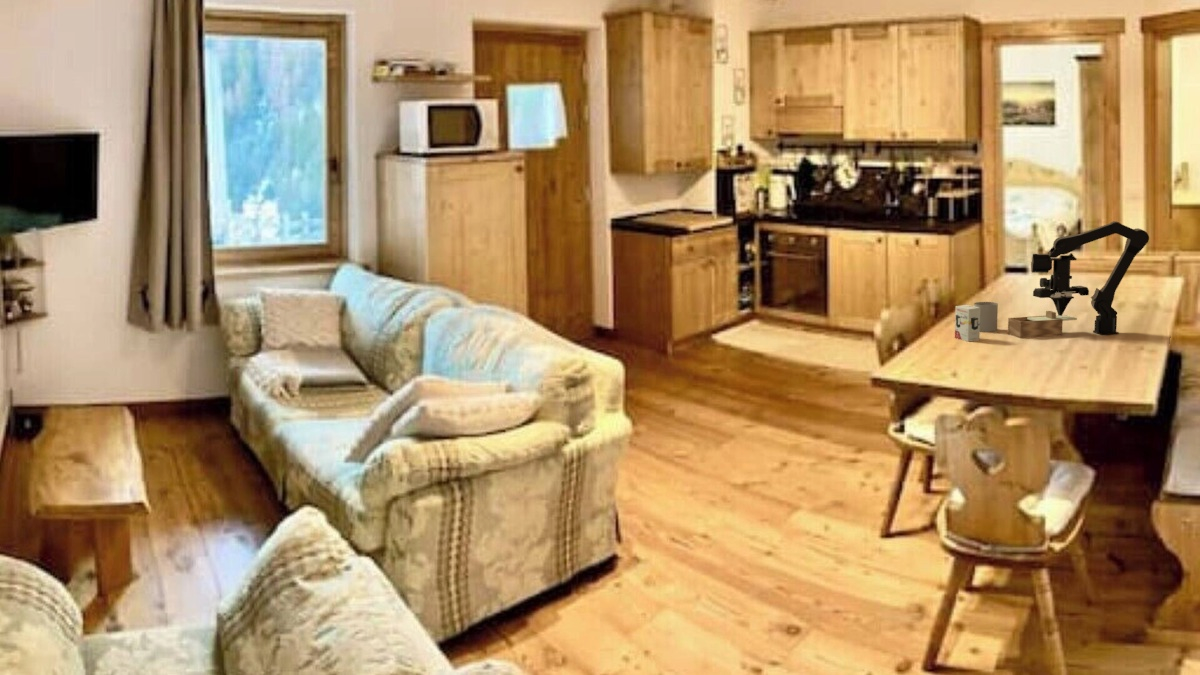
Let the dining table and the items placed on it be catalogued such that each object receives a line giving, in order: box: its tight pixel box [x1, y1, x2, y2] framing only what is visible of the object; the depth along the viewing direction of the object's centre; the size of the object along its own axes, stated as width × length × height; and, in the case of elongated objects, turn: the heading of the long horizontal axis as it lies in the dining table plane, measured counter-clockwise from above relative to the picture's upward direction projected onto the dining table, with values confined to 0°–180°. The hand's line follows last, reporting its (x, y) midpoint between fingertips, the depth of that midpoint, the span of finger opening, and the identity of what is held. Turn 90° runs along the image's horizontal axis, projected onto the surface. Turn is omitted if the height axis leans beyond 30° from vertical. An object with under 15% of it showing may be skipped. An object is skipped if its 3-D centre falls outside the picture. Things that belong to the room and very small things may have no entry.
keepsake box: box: [1007, 315, 1064, 339], centre depth 434 cm, size 16×9×6 cm, turn 99°
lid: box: [1026, 310, 1078, 322], centre depth 434 cm, size 15×8×3 cm, turn 99°
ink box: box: [954, 304, 981, 342], centre depth 429 cm, size 9×5×12 cm, turn 17°
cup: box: [973, 301, 999, 333], centre depth 445 cm, size 8×8×10 cm
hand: (1060, 315), depth 435 cm, fingers closed
